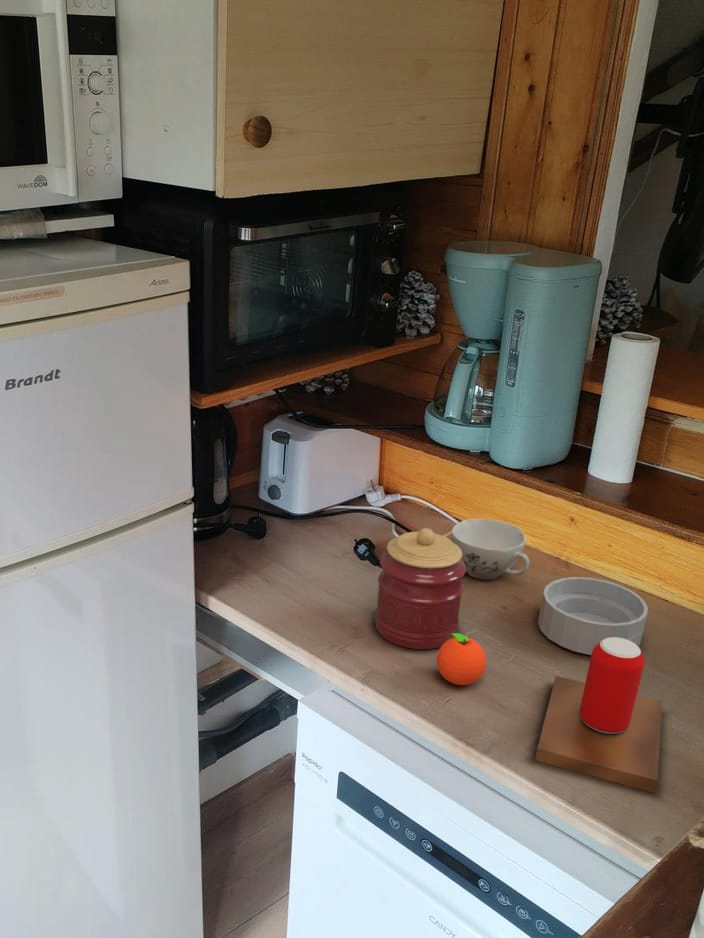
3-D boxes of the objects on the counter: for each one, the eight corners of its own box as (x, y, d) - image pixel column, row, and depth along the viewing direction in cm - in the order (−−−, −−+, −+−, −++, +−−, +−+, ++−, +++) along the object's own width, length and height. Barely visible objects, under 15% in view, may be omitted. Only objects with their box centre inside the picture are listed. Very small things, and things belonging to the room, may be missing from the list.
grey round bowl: (642, 621, 147) (649, 589, 144) (636, 668, 134) (645, 634, 132) (544, 601, 153) (550, 569, 150) (531, 644, 140) (537, 611, 138)
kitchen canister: (357, 630, 144) (366, 529, 136) (402, 601, 152) (413, 504, 145) (429, 661, 136) (442, 556, 128) (472, 628, 144) (486, 528, 137)
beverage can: (626, 743, 115) (646, 664, 110) (575, 730, 118) (592, 652, 112) (629, 717, 120) (648, 640, 115) (580, 705, 123) (596, 629, 117)
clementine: (422, 667, 134) (427, 626, 131) (464, 660, 136) (470, 620, 133) (448, 698, 127) (454, 655, 124) (492, 690, 129) (499, 648, 126)
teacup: (432, 568, 163) (437, 528, 160) (478, 551, 170) (483, 512, 166) (499, 602, 152) (506, 559, 149) (545, 582, 159) (553, 541, 155)
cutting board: (659, 712, 125) (662, 700, 124) (654, 793, 110) (657, 780, 109) (553, 687, 130) (555, 675, 129) (534, 760, 115) (537, 748, 114)
